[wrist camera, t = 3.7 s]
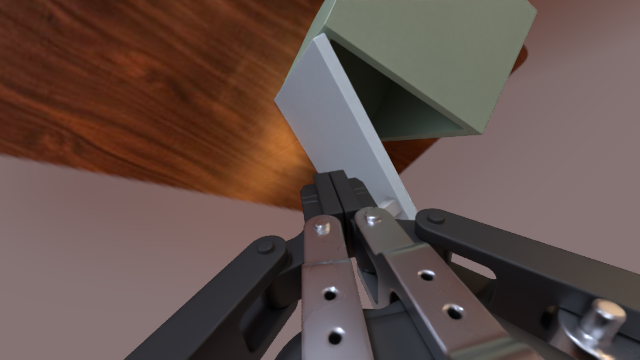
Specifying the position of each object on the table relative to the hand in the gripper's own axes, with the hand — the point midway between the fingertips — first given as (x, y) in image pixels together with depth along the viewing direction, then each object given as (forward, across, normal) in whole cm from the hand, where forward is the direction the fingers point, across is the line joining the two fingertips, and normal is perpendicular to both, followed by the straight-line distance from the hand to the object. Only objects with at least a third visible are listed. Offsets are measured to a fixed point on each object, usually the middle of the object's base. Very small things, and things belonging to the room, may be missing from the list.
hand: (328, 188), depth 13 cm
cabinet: (+31, -7, 0) cm, 32 cm away
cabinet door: (+26, +2, +8) cm, 28 cm away
